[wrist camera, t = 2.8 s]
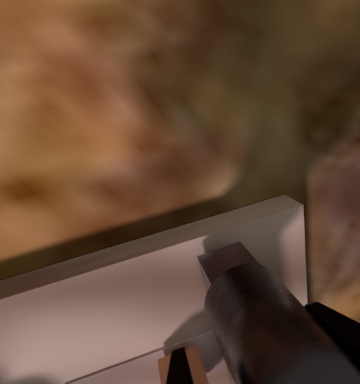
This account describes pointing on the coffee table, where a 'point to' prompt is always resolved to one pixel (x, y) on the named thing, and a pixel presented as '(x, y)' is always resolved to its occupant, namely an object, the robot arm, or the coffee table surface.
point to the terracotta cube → (194, 362)
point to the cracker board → (138, 300)
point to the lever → (267, 325)
